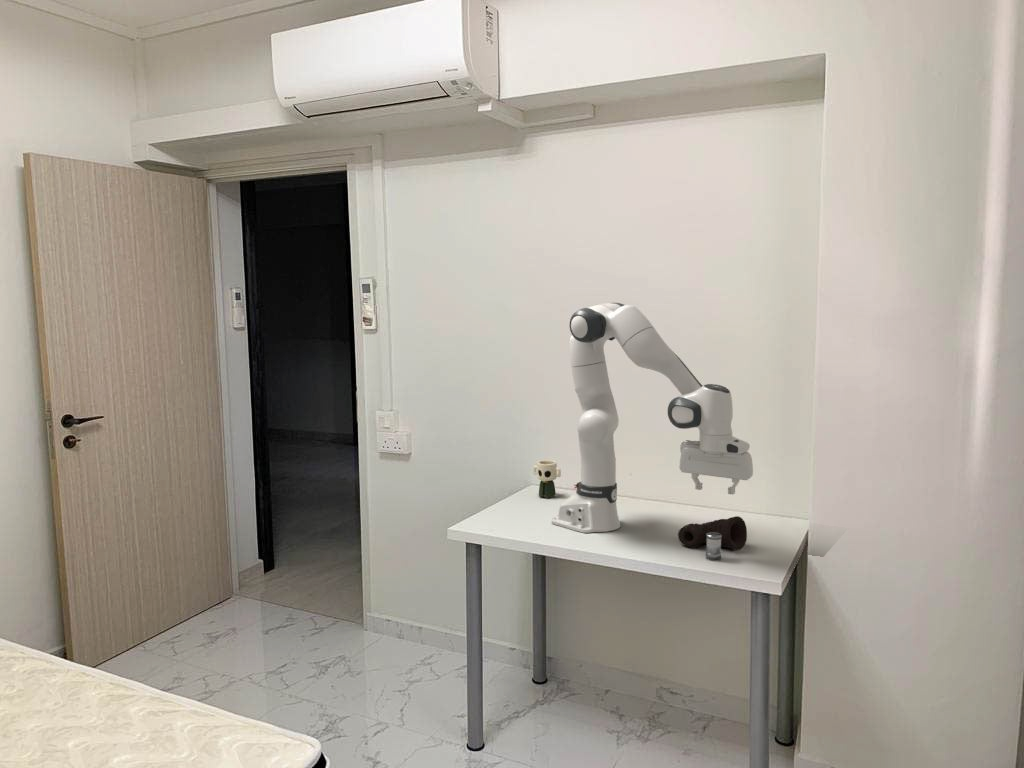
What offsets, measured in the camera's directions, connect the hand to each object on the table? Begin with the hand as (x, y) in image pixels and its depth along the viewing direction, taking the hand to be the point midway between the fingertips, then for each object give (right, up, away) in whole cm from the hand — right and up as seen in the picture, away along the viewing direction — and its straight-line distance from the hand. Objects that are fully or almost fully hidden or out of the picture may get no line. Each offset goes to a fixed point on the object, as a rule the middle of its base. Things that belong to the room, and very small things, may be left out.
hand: (714, 491), depth 217 cm
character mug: (-44, -12, +70) cm, 83 cm away
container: (0, -19, +2) cm, 19 cm away
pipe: (+3, -18, +14) cm, 23 cm away
